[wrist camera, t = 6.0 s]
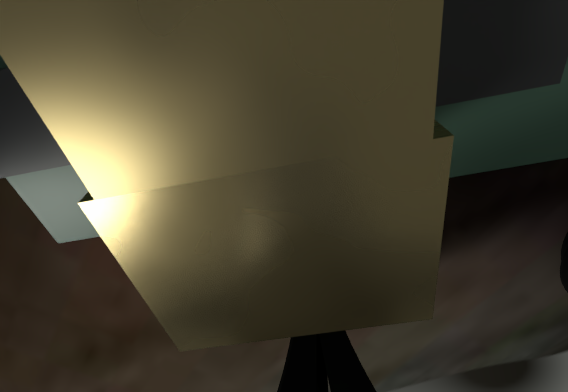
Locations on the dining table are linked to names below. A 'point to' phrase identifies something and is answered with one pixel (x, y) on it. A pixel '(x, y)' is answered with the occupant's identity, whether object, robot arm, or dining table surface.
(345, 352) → the robot arm
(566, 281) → the beverage can
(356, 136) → the keeper
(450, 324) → the dining table surface
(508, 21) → the board
